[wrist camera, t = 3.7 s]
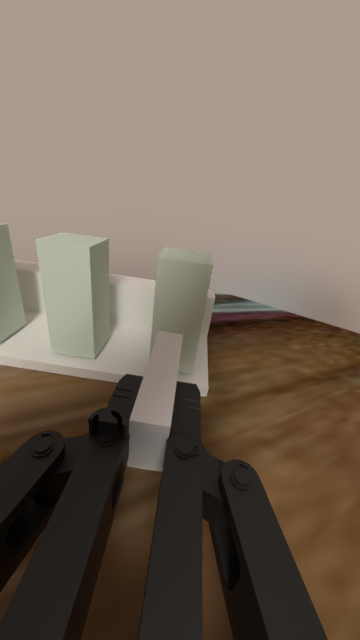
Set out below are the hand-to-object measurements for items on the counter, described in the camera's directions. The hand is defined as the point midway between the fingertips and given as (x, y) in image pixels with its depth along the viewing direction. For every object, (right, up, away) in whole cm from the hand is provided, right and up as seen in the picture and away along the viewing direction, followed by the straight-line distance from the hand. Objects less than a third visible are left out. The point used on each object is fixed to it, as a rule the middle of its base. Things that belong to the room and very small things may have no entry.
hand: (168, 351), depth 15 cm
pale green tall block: (0, -2, +9) cm, 9 cm away
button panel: (-9, 0, +12) cm, 15 cm away
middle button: (-9, 0, +9) cm, 13 cm away
